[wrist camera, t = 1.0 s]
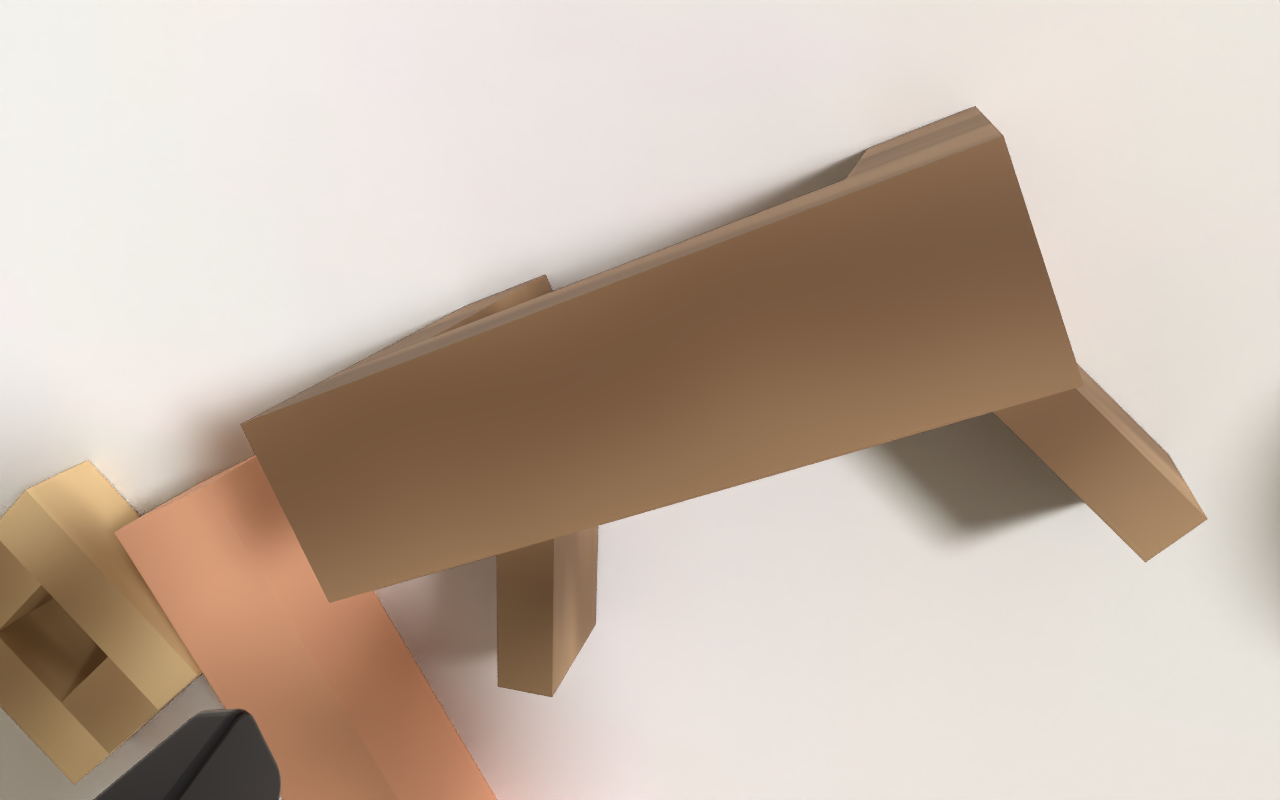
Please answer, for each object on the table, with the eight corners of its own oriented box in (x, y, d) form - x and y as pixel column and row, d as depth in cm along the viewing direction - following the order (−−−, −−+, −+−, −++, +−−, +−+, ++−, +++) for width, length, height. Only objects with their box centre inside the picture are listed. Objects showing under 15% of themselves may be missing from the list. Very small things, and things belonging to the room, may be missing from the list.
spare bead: (247, 633, 27) (197, 674, 25) (128, 739, 29) (74, 784, 27) (88, 460, 27) (25, 489, 25) (-21, 581, 29) (-85, 616, 27)
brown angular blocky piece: (1176, 478, 20) (1321, 726, 12) (555, 634, 24) (393, 880, 17) (1051, 76, 18) (1133, 86, 11) (415, 325, 23) (173, 449, 16)
